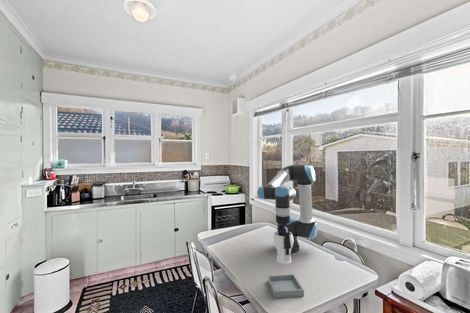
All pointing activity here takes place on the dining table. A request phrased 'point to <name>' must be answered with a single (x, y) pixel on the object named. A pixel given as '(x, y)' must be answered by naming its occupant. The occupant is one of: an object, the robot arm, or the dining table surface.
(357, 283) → the dining table surface
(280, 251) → the cup
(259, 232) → the dining table surface
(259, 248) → the dining table surface
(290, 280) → the tray
